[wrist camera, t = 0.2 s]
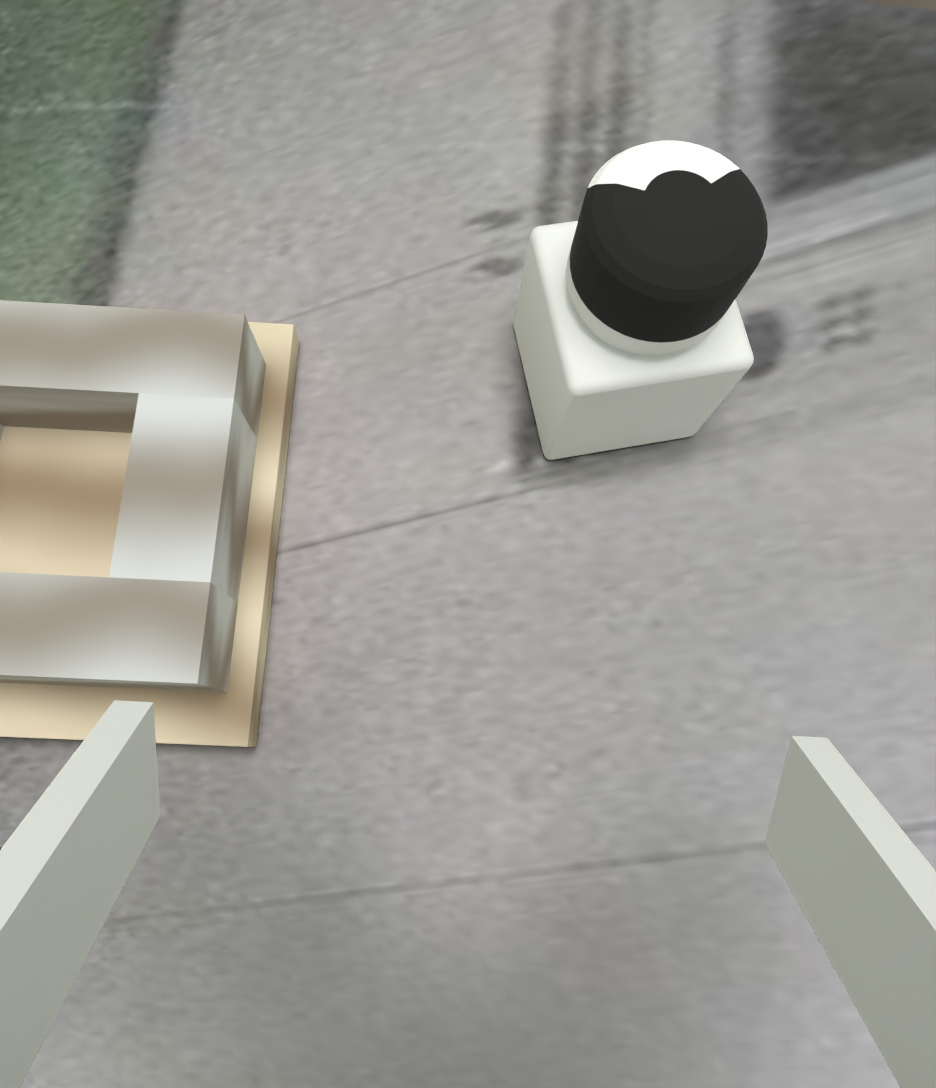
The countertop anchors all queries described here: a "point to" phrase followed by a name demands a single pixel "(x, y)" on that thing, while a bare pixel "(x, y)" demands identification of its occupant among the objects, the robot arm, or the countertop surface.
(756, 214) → the medicine bottle
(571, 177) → the countertop surface
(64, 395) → the block
